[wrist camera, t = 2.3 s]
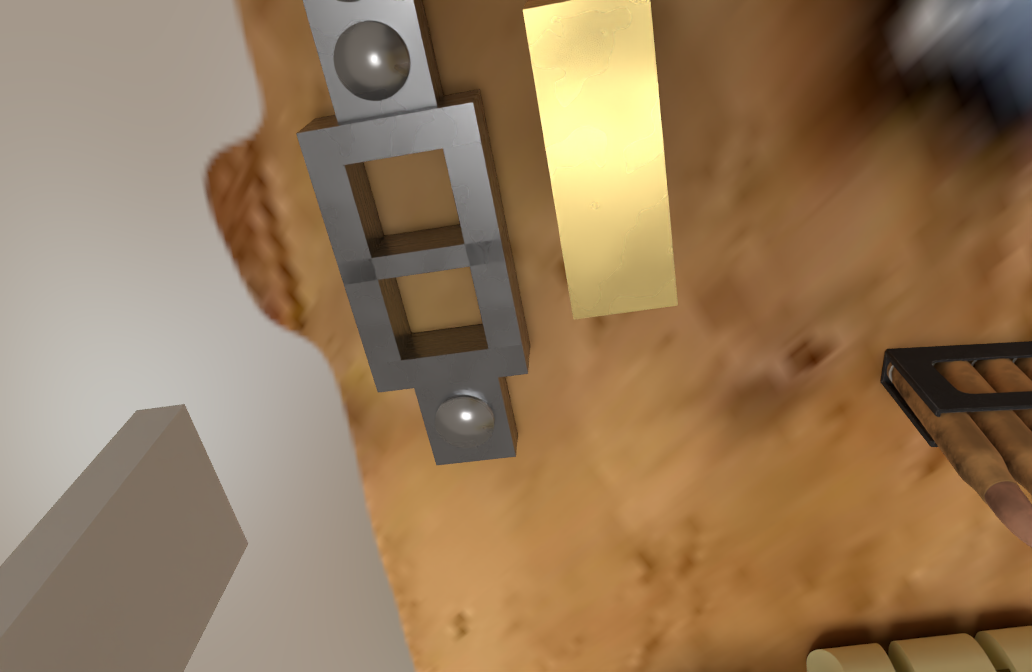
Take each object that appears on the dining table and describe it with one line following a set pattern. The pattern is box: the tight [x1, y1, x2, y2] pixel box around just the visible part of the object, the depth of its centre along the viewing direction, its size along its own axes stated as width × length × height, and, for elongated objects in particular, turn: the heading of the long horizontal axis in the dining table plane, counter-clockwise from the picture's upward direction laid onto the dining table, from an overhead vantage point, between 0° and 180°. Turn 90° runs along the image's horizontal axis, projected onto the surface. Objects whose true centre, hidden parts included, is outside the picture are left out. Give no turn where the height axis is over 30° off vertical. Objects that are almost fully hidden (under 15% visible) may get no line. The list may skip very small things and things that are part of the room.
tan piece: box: [523, 0, 678, 320], centre depth 26 cm, size 9×3×10 cm, turn 10°
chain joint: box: [296, 0, 530, 465], centre depth 32 cm, size 24×7×2 cm, turn 10°
